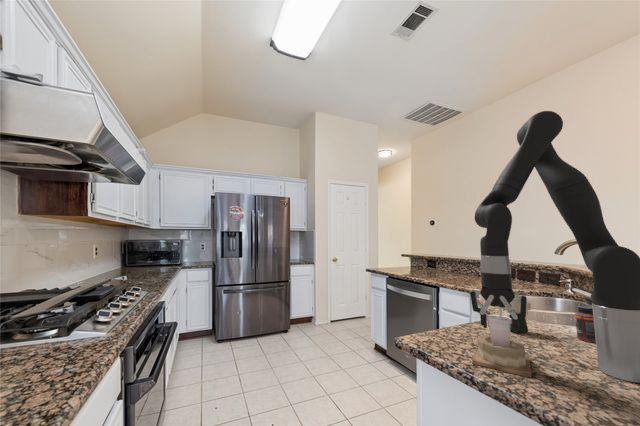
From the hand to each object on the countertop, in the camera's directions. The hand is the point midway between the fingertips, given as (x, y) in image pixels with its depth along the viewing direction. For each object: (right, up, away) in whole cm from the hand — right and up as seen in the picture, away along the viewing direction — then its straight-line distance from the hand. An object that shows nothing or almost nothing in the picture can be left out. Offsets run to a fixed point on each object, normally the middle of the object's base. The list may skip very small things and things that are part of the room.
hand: (499, 329), depth 77 cm
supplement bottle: (+42, -11, +16) cm, 47 cm away
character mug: (+24, -12, +25) cm, 36 cm away
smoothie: (0, -6, -1) cm, 6 cm away
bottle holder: (0, -9, -1) cm, 9 cm away
